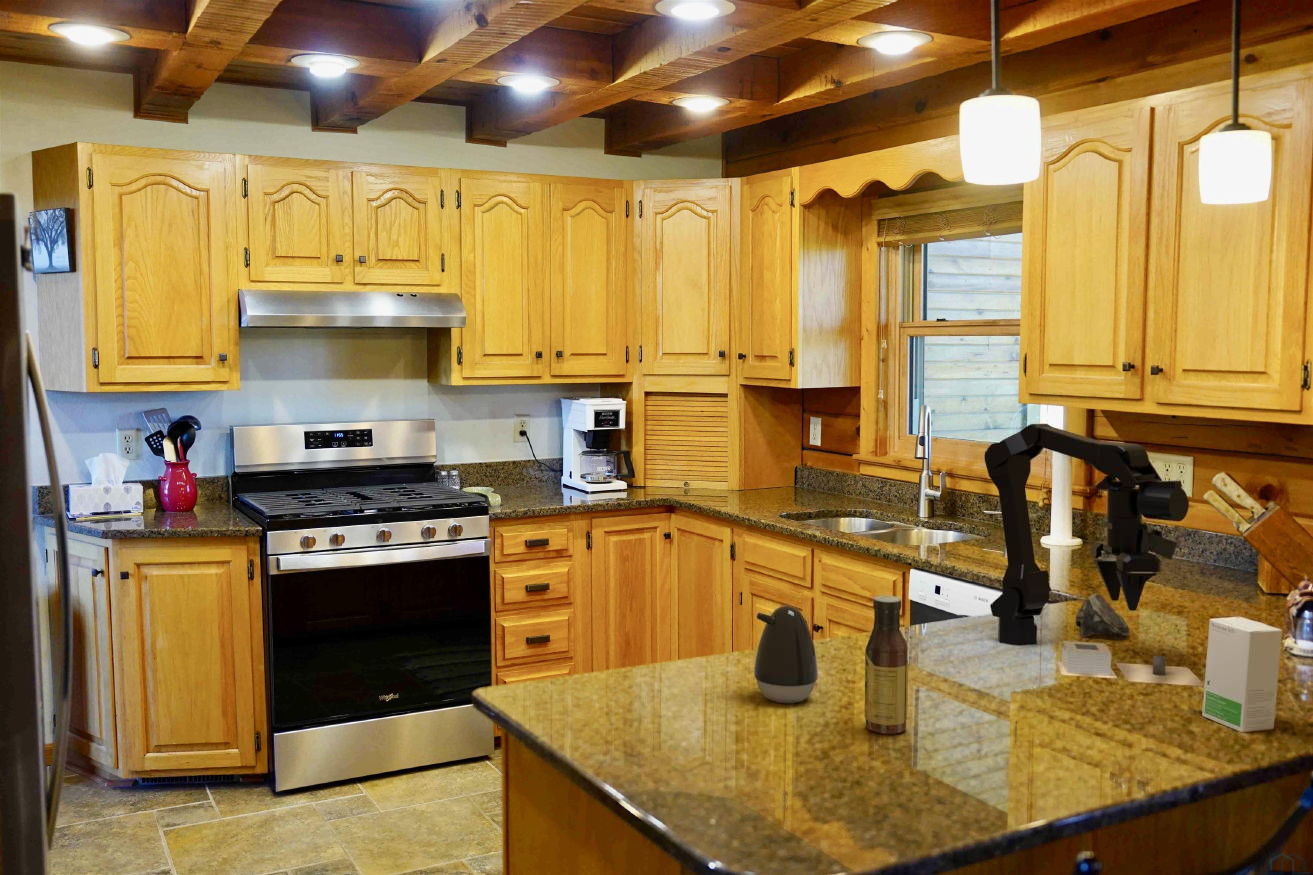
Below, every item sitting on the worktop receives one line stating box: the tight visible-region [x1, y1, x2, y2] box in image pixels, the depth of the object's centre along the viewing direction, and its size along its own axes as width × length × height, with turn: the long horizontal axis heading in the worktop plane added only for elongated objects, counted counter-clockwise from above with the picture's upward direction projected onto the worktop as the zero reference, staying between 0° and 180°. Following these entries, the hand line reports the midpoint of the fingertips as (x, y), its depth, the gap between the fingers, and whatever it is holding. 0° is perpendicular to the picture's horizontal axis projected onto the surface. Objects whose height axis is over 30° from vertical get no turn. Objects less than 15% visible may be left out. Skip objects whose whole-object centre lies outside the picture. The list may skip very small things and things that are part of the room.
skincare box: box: [1201, 616, 1283, 733], centre depth 177 cm, size 8×7×16 cm
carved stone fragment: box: [1075, 593, 1130, 640], centre depth 233 cm, size 11×9×10 cm
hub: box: [1115, 654, 1205, 687], centre depth 200 cm, size 12×12×4 cm
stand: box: [1054, 660, 1118, 679], centre depth 203 cm, size 9×9×4 cm
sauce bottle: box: [864, 595, 909, 736], centre depth 172 cm, size 6×6×20 cm
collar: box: [1061, 640, 1112, 676], centre depth 203 cm, size 7×7×4 cm
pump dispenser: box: [753, 605, 819, 704], centre depth 187 cm, size 10×10×15 cm
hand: (1123, 605), depth 203 cm, fingers open, 9 cm apart
